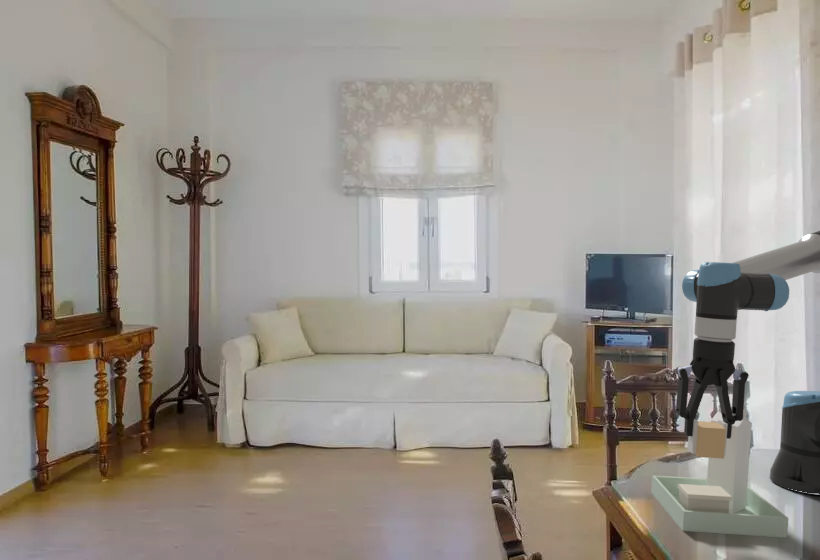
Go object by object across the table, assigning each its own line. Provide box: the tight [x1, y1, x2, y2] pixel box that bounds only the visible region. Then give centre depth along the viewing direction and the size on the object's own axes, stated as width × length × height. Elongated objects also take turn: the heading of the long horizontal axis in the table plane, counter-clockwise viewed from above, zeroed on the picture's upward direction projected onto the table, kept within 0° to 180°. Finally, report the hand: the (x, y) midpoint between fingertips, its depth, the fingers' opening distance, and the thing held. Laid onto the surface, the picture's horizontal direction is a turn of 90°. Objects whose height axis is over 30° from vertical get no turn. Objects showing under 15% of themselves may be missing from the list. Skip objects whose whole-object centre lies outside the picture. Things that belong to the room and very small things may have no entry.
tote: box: [650, 474, 789, 539], centre depth 136 cm, size 20×20×4 cm
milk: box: [706, 404, 753, 513], centre depth 139 cm, size 6×6×22 cm
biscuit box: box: [694, 420, 726, 459], centre depth 130 cm, size 5×5×6 cm
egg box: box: [678, 484, 732, 513], centre depth 131 cm, size 9×6×7 cm, turn 86°
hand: (706, 452), depth 130 cm, fingers closed on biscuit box, 5 cm apart
